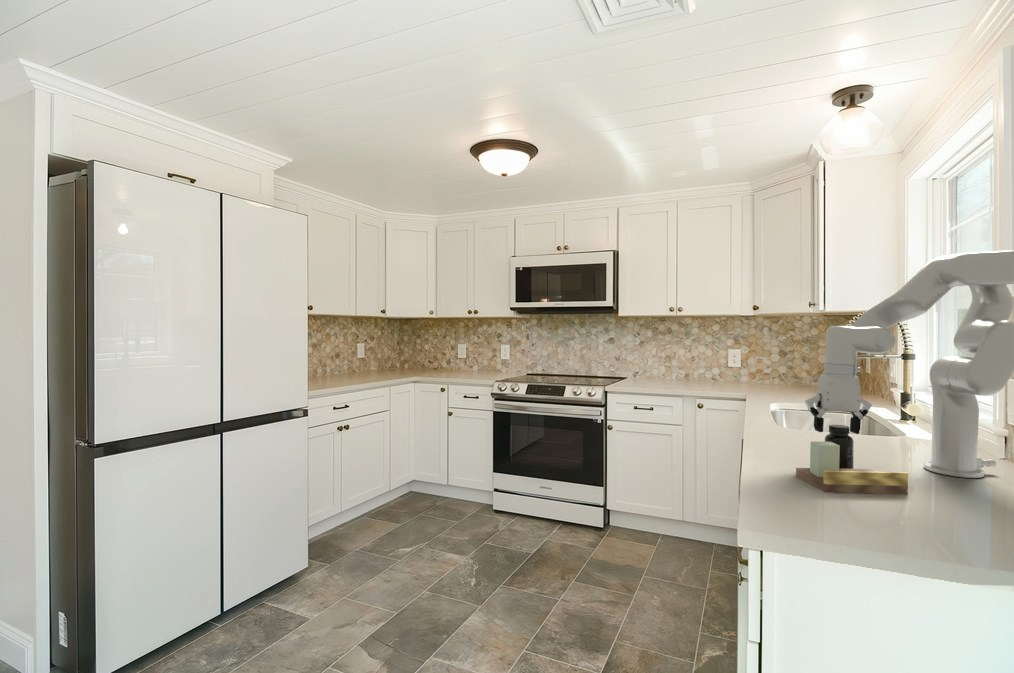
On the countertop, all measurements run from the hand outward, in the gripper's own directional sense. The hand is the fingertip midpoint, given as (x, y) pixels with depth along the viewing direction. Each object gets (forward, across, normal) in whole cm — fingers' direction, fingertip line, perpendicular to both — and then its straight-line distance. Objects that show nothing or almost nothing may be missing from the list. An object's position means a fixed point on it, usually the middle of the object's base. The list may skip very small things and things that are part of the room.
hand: (836, 432), depth 145 cm
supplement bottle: (+10, -1, 0) cm, 11 cm away
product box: (+9, +10, +13) cm, 19 cm away
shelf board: (+10, +4, +14) cm, 18 cm away
